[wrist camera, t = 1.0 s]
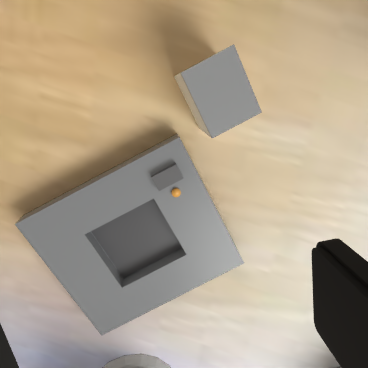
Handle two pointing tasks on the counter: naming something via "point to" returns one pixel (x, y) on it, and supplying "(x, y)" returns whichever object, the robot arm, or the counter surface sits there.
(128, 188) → the socket plate
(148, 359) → the french press
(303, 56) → the counter surface
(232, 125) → the plug
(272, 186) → the counter surface
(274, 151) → the counter surface
